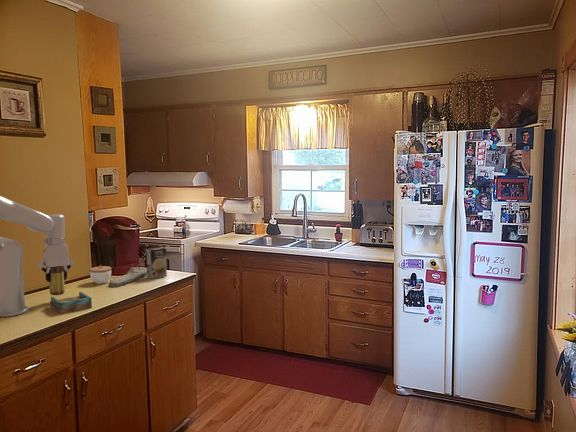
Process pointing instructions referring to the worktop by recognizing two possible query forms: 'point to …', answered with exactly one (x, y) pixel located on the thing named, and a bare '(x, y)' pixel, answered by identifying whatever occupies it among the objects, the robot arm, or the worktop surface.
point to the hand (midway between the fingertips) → (56, 280)
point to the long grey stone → (129, 277)
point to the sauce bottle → (56, 280)
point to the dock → (71, 303)
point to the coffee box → (156, 263)
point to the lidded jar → (100, 274)
